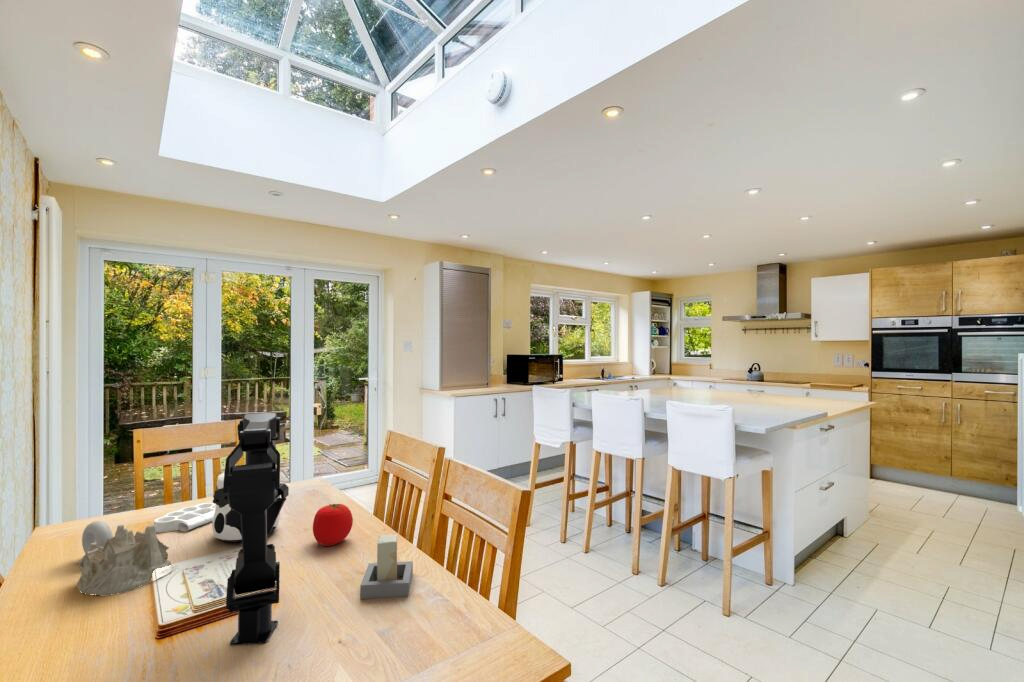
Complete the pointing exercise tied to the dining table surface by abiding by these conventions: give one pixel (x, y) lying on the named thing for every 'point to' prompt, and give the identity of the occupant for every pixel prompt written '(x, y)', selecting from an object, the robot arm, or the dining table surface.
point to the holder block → (386, 582)
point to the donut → (96, 535)
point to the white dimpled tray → (186, 518)
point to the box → (387, 557)
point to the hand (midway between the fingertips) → (259, 542)
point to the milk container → (218, 523)
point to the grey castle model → (122, 562)
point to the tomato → (332, 524)
